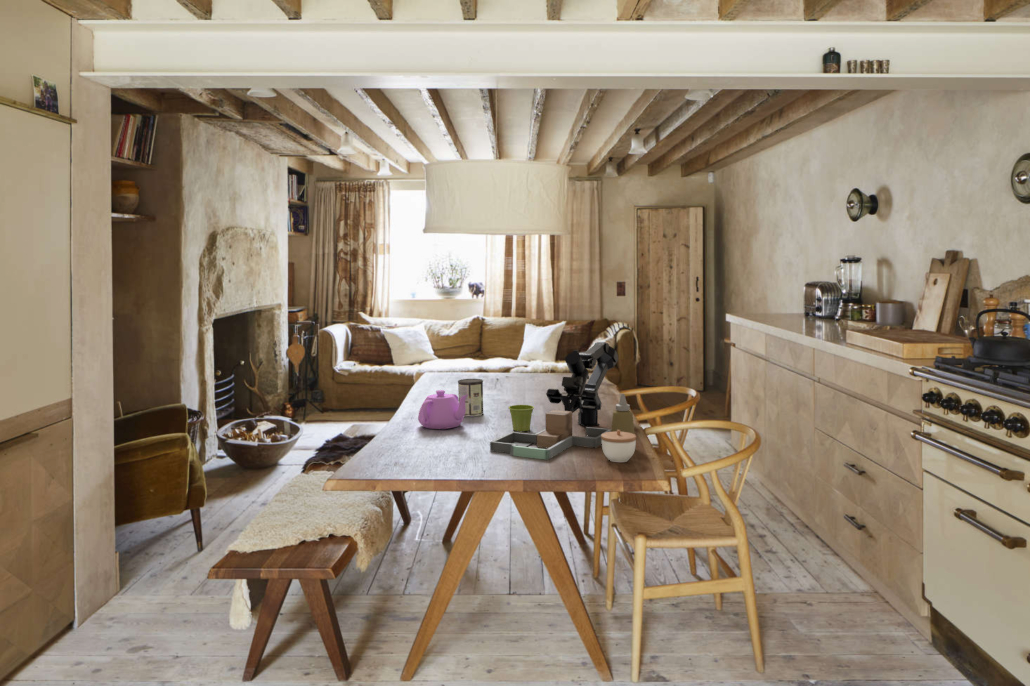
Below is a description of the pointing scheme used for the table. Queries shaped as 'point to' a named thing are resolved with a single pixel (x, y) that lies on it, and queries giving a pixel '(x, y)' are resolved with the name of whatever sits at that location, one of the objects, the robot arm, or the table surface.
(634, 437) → the lidded jar
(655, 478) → the table surface
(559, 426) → the walnut block
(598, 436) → the bent walled tray
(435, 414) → the teapot
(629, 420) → the squeeze bottle
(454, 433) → the table surface
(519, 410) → the plant pot
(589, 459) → the table surface
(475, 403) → the coffee can
